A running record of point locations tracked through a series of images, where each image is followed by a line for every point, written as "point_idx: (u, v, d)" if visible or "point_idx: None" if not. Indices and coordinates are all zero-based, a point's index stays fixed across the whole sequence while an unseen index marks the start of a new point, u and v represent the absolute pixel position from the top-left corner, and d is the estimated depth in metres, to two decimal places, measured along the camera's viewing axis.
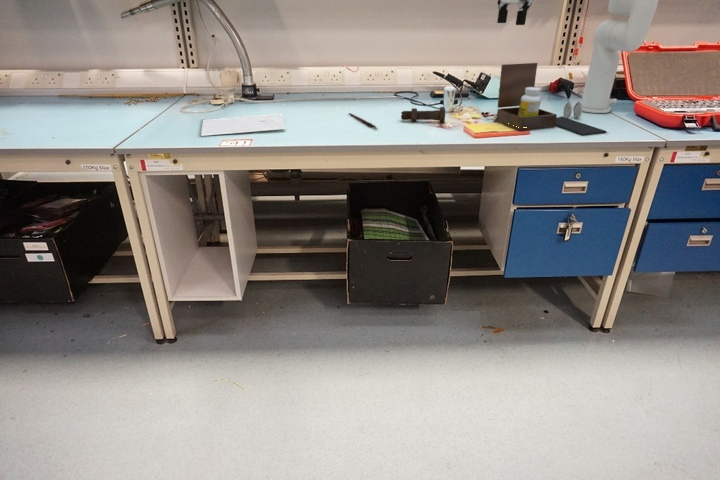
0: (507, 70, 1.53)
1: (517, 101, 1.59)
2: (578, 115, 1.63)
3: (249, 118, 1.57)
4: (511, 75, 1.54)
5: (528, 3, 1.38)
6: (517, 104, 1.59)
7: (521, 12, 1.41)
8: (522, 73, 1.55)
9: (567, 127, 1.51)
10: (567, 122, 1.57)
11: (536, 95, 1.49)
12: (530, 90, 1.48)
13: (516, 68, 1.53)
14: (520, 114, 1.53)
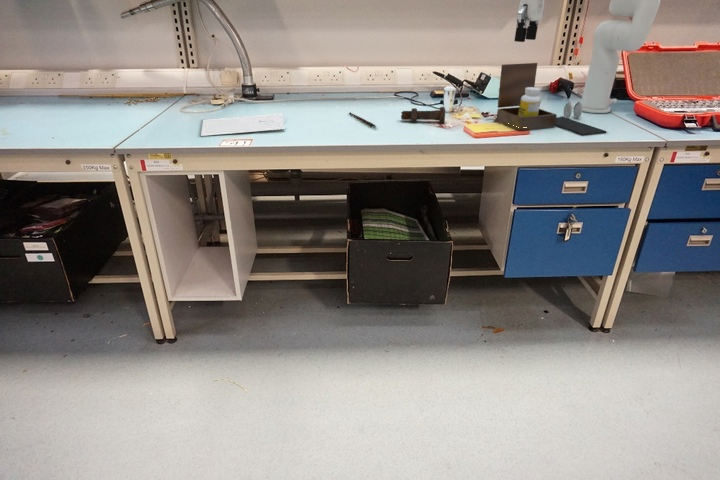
0: (507, 70, 1.53)
1: (517, 101, 1.59)
2: (578, 115, 1.63)
3: (249, 118, 1.57)
4: (511, 75, 1.54)
5: (518, 20, 1.38)
6: (517, 104, 1.59)
7: (518, 29, 1.41)
8: (522, 73, 1.55)
9: (567, 127, 1.51)
10: (567, 122, 1.57)
11: (536, 95, 1.49)
12: (530, 90, 1.48)
13: (516, 68, 1.53)
14: (520, 114, 1.53)
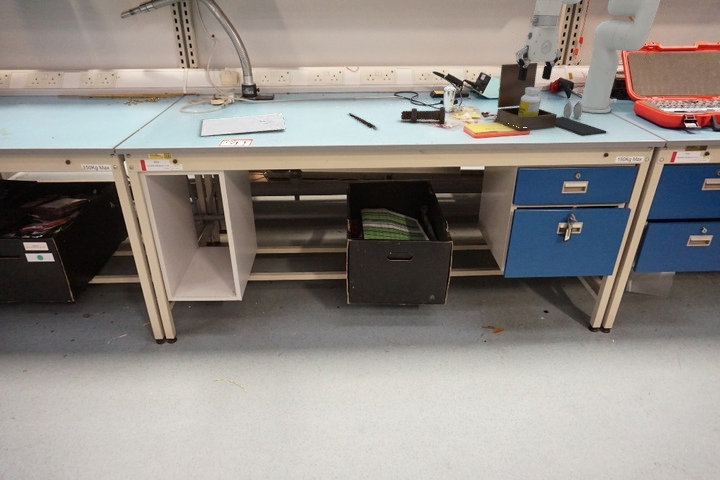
0: (507, 70, 1.53)
1: (517, 101, 1.59)
2: (578, 115, 1.63)
3: (249, 118, 1.57)
4: (511, 75, 1.54)
5: (517, 60, 1.43)
6: (517, 104, 1.59)
7: None
8: None
9: (567, 127, 1.51)
10: (567, 122, 1.57)
11: (536, 95, 1.49)
12: (530, 90, 1.48)
13: (516, 68, 1.53)
14: (520, 114, 1.53)
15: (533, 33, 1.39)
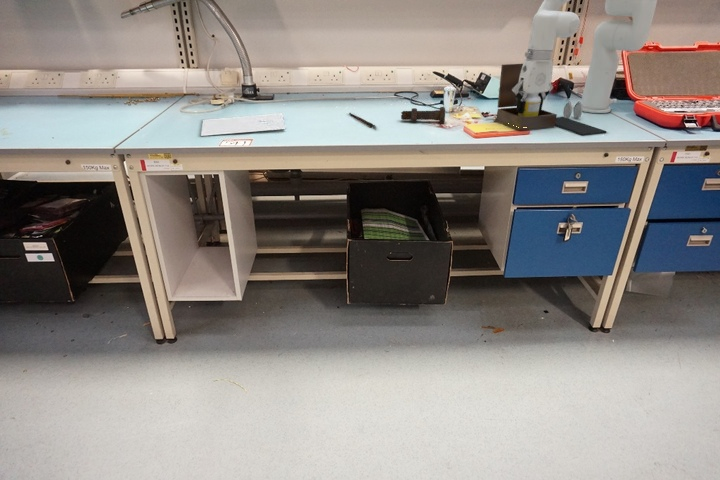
0: (507, 70, 1.53)
1: (517, 101, 1.59)
2: (578, 115, 1.63)
3: (249, 118, 1.57)
4: (511, 75, 1.54)
5: (515, 94, 1.49)
6: None
7: None
8: None
9: (567, 127, 1.51)
10: (567, 122, 1.57)
11: (536, 95, 1.49)
12: None
13: (516, 68, 1.53)
14: (520, 114, 1.53)
15: (527, 66, 1.44)
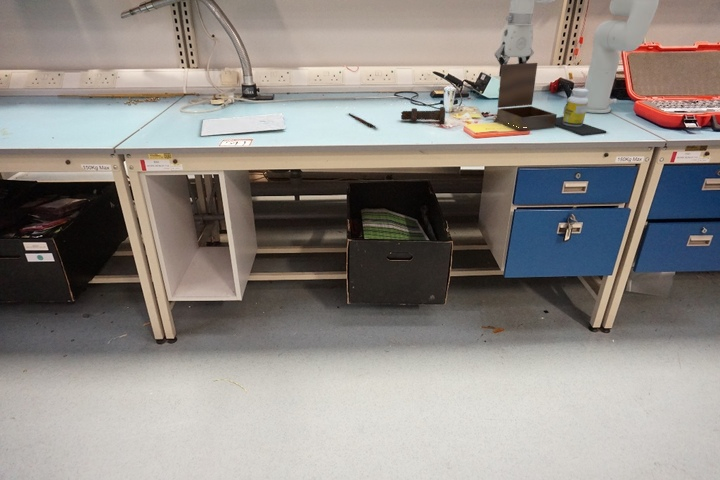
0: (507, 70, 1.53)
1: (517, 101, 1.59)
2: None
3: (249, 118, 1.57)
4: (511, 75, 1.54)
5: (497, 58, 1.54)
6: (517, 104, 1.59)
7: None
8: (522, 73, 1.55)
9: (567, 127, 1.51)
10: None
11: (584, 96, 1.48)
12: (578, 91, 1.47)
13: (516, 68, 1.53)
14: (567, 115, 1.52)
15: (508, 30, 1.49)
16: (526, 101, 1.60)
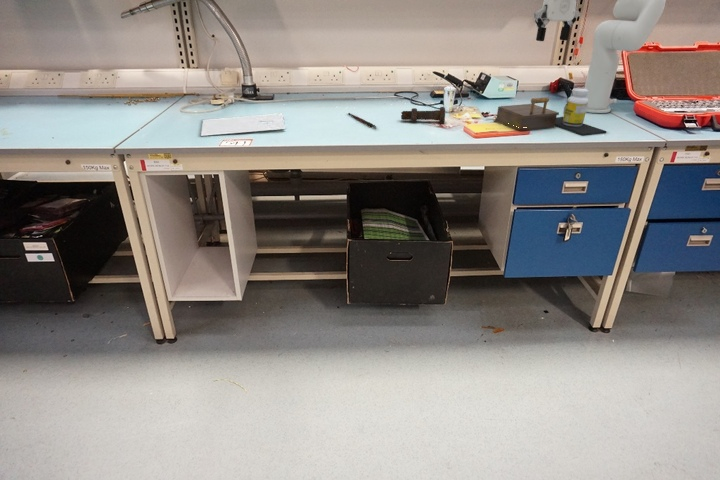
0: None
1: None
2: None
3: (249, 118, 1.57)
4: None
5: (535, 20, 1.44)
6: None
7: None
8: None
9: (567, 127, 1.51)
10: None
11: (584, 96, 1.48)
12: (578, 91, 1.47)
13: None
14: (567, 115, 1.52)
15: None
16: None
